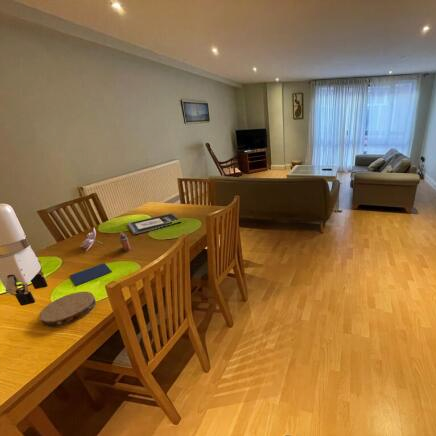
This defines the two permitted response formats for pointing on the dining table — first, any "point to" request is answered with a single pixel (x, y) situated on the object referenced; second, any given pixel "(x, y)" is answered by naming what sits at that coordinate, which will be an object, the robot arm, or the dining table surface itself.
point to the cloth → (90, 274)
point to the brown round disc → (67, 309)
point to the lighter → (125, 242)
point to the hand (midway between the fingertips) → (35, 295)
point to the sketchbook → (151, 223)
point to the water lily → (90, 239)
